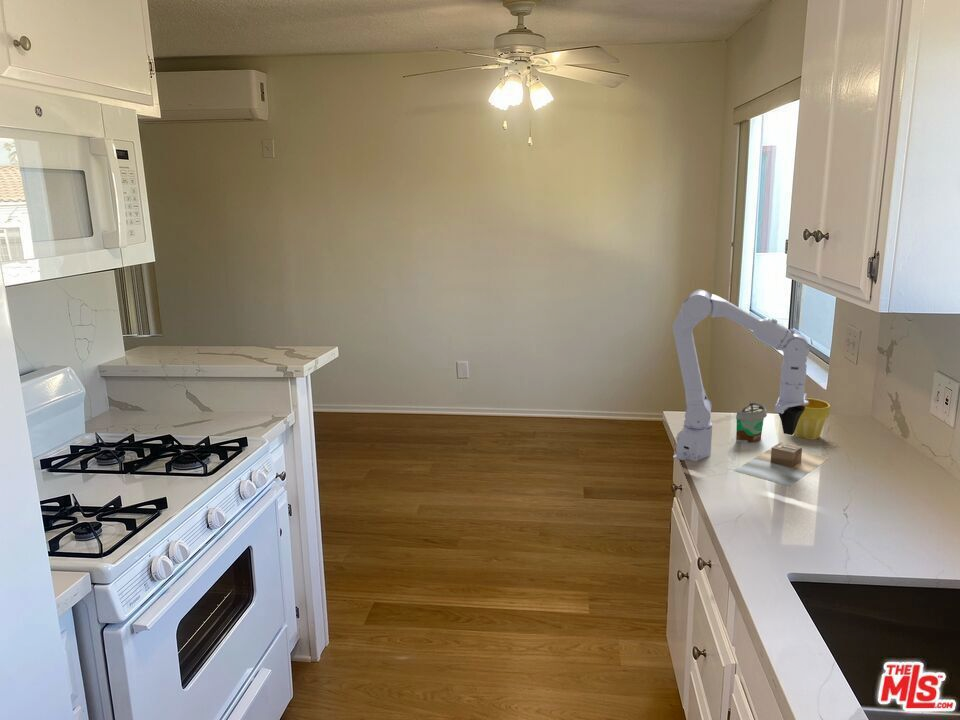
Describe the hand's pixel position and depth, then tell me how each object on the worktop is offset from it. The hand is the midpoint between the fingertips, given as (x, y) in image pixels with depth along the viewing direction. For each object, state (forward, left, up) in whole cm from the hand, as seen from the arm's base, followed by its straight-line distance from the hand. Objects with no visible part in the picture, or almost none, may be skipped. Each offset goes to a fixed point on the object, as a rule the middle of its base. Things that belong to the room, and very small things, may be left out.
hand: (788, 433), depth 183 cm
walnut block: (-1, 0, -8) cm, 8 cm away
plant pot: (+25, +5, -9) cm, 27 cm away
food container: (+10, +14, -9) cm, 19 cm away
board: (-3, 0, -8) cm, 9 cm away
